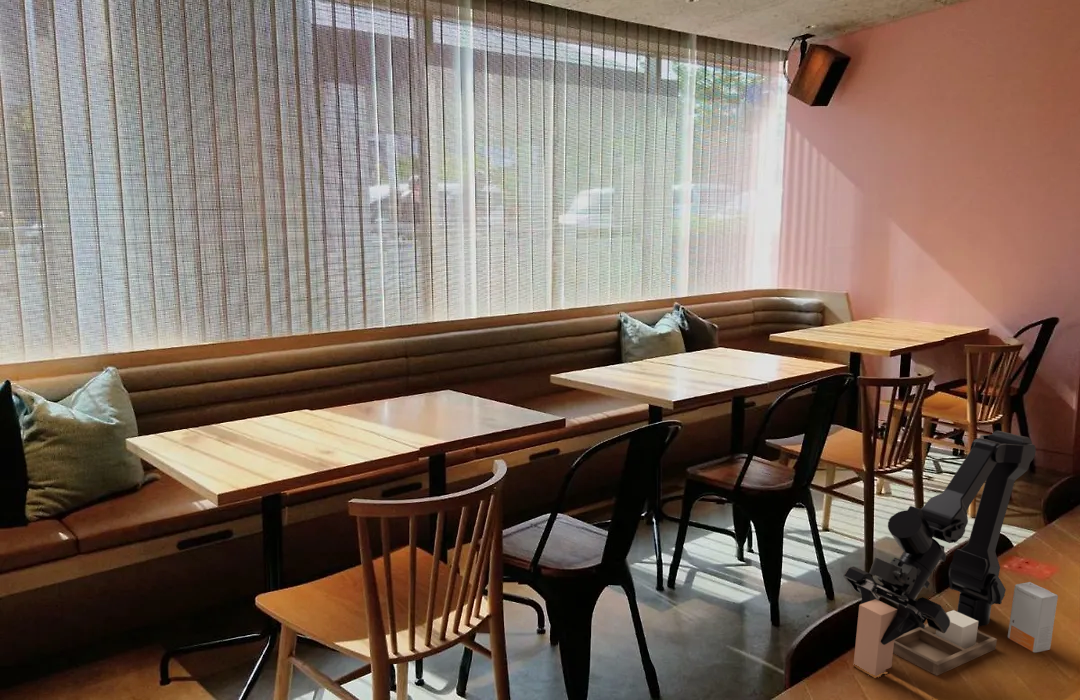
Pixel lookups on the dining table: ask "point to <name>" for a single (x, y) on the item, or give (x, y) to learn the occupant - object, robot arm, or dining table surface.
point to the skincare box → (1032, 617)
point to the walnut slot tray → (939, 649)
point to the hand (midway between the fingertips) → (870, 637)
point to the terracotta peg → (874, 637)
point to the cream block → (960, 630)
